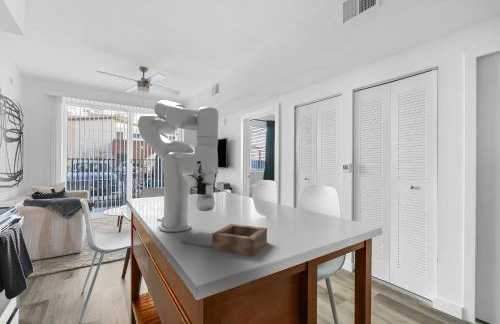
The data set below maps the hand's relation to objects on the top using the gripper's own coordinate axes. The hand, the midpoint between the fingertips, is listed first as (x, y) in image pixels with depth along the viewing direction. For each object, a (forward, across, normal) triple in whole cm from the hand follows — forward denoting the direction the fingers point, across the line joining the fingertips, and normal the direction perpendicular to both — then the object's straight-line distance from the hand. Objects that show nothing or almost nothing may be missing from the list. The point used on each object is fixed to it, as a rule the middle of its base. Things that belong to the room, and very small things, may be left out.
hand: (206, 192), depth 86 cm
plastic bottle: (+7, 0, 0) cm, 7 cm away
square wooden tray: (+17, 0, +14) cm, 22 cm away
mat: (+17, 0, 0) cm, 17 cm away
